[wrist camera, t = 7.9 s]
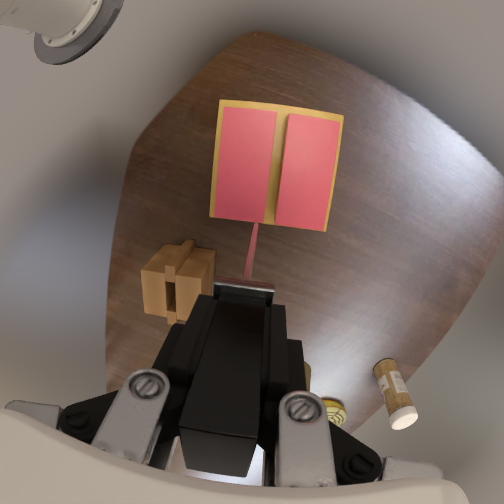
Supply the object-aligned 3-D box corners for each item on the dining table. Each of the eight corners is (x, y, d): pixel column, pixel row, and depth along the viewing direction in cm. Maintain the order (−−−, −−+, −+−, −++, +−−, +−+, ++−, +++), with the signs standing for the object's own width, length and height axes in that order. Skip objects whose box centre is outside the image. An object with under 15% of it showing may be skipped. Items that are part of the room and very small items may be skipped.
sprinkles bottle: (369, 367, 44) (387, 425, 32) (390, 353, 43) (413, 410, 30) (379, 378, 45) (397, 433, 33) (399, 365, 44) (421, 419, 32)
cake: (209, 216, 36) (199, 228, 31) (220, 99, 30) (211, 92, 25) (325, 230, 36) (333, 245, 31) (343, 115, 30) (355, 111, 25)
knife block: (166, 287, 40) (145, 319, 32) (165, 236, 37) (140, 261, 29) (213, 294, 40) (200, 330, 32) (216, 242, 37) (201, 270, 29)
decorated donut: (296, 427, 52) (297, 440, 49) (291, 400, 48) (292, 415, 45) (343, 420, 51) (345, 433, 47) (344, 392, 47) (347, 407, 43)
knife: (235, 263, 21) (176, 470, 6) (239, 216, 19) (161, 413, 5) (267, 267, 21) (254, 482, 6) (274, 220, 19) (275, 430, 5)
